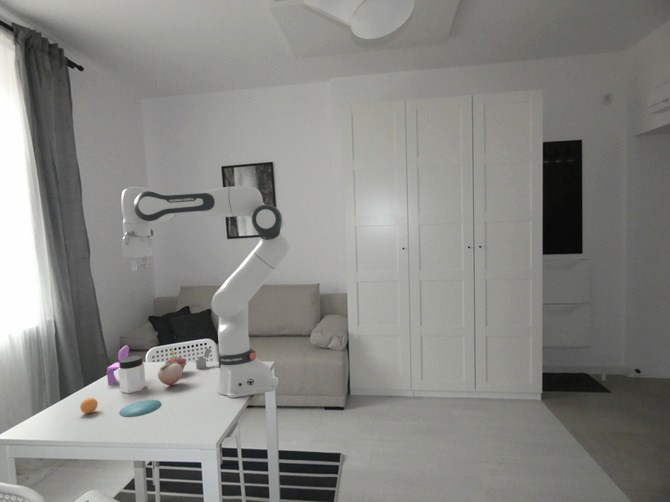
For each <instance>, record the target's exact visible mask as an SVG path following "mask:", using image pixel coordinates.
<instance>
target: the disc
mask: <svg viewBox="0 0 670 502" xmlns="http://www.w3.org/2000/svg"><path fill="white" fill-rule="evenodd" d="M161 406H162V402H161V401H160V400H158V399H146V400H145V399H144V400H140V401H135V402H132V403H129V404H128V405H125V406H124V407H122V408H121V409H120V410H119V411H118V412H119V413H118V414H119V415H120V416H122V417H125V418H131V417H139V416H144V415H147V414H149V413H151V412H155V411H156V410H158V409H159V408H160V407H161Z"/></svg>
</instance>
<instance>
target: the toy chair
mask: <svg viewBox="0 0 670 502" xmlns="http://www.w3.org/2000/svg"><path fill="white" fill-rule="evenodd" d="M129 352H130V347H129V346H128V345H125V346H123V347H121V349H119V351H118V353H117V357H118V358H117V359H118V360H119V361H120V360H121V359H123V358H127V357H129ZM119 361H117V362H114V363H112V365H109V366H108V367H106V377H107V386H110V385H112V384H113V383H115V382H116V381H117V378H116V376H115V370H119V369H118V368H120V366H119Z"/></svg>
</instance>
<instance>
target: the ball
mask: <svg viewBox="0 0 670 502" xmlns="http://www.w3.org/2000/svg"><path fill="white" fill-rule="evenodd" d="M98 405H99V404H98V401H97V399H95V398H94V397H87V398H85V399H83V400H82V401H81V404H80V407H79V408H80V410H81V412H82V413H84V414H91V413H94V411H95V410H96V409H97V408H98Z"/></svg>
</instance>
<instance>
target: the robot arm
mask: <svg viewBox="0 0 670 502" xmlns="http://www.w3.org/2000/svg"><path fill="white" fill-rule="evenodd" d="M121 193H122V194H121V213H122V217H123V220H122V229H123V230H122V231H123V238H122V239H121V240H122V242H121V244H122V245H121V246H122V247H121V253H122V257H123V258H124V259H128V263H129V264H130V268H131V269H130V270H131V271H132V272H136V271H138V270H139V265H138V264H137V259H138V258H141V263H140V264H141V265H140V267H141V269H142V270H145V269H148V264H149V263H148V262H149V257H151V256H153V254H154V238H153V237H154V236H155V232H154V230H153V229H152V228H151V222H160V223H161V222H168V221H170V220H172V219H173V218H174V216H176V214H182V213H184V214H185V213H198V214H199V213H200V214H205V215H209V216H213V217H219V218H220V217H221V218H231V217H243V216H244V217H250V219H251V223H252V226H253V228H254V230H255V231H256V232H257V234H258V236H259V237H260V240H259V242H258V243H257V245H256V246H255V247H254V249H252V251H251V252H250V253H249V254H248V255H247V257H246V258H245V259H244V260H243V261H242V263H241V264H240V265H239V266H238V267H237V268H236V269H235V270H234V271H233V273H232V274H231V275H230V276H229V277H228V278H227V279H226V280H225V281H224V283H222V285H221V286H220V287H219V288H218V289H217V290H216V291H215V293H214V295H213V296H212V299H211V309H212V311H213V313H214V314H215V315H217V316H218V327H217V337H218V339H217V340H218V350H219V351H218V356H217V361H218V367H219V380H218V388H217V392H218V394H220V395H222V396H227V397H228V398H233V399H234V398H239V397H245V396H253V395H257V394H264V393H271V392H274V391H275V390H277V388H278V386H279V385H280V384H279V383H280V381H279V378H278V377H277V376H274V375H273V373H272V369H271V368H270V366H269V365H268V364H266V363H264V362H263V361H261V360H260V359H259V358H256V357H257V356H256V349H255V348H254V349H252V348H251V347H250V336H249V301H251V299H252V298H253V297H254V296H255V295H256V293H257V292H258V291H259V290H260V289H261V287H262V286H263V285H264V284H265V283H266V282H267V280H268V279H269V278H270V277H271V276H272V274H273V273H274V272H275V270H277V269H278V267H279V266H280V265H281V263H283V260H284V259H285V257H286V255H287V253H288V251H289V249H290V245H289V242H288V240H287V238H285V237H284V236H283V234H282V233H281V230H282V228H283V225H284V217H283V216H284V215H283V213H282V212H281V210H280V209H279V208H277V207H276V206H274V205H272V204H266V203H264V199H263V195H262V193H261V191H260V190H259V189H258V188H257V187H254V186H246V185H245V186H243V185H242V186H241V185H238V186H237V185H235V186H233V185H232V186H225V187H219V188H213V189H209V190H204V191H201V192H196V193H186V194H185V193H183V194H169V195H167V194H166V195H164V194H160V193H156V192H154V191H150V190H149V189H147V188H145V186H140V185H139V186H138V185H137V186H130V187H127V188H125V189H124V190H123V191H122V192H121Z"/></svg>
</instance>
